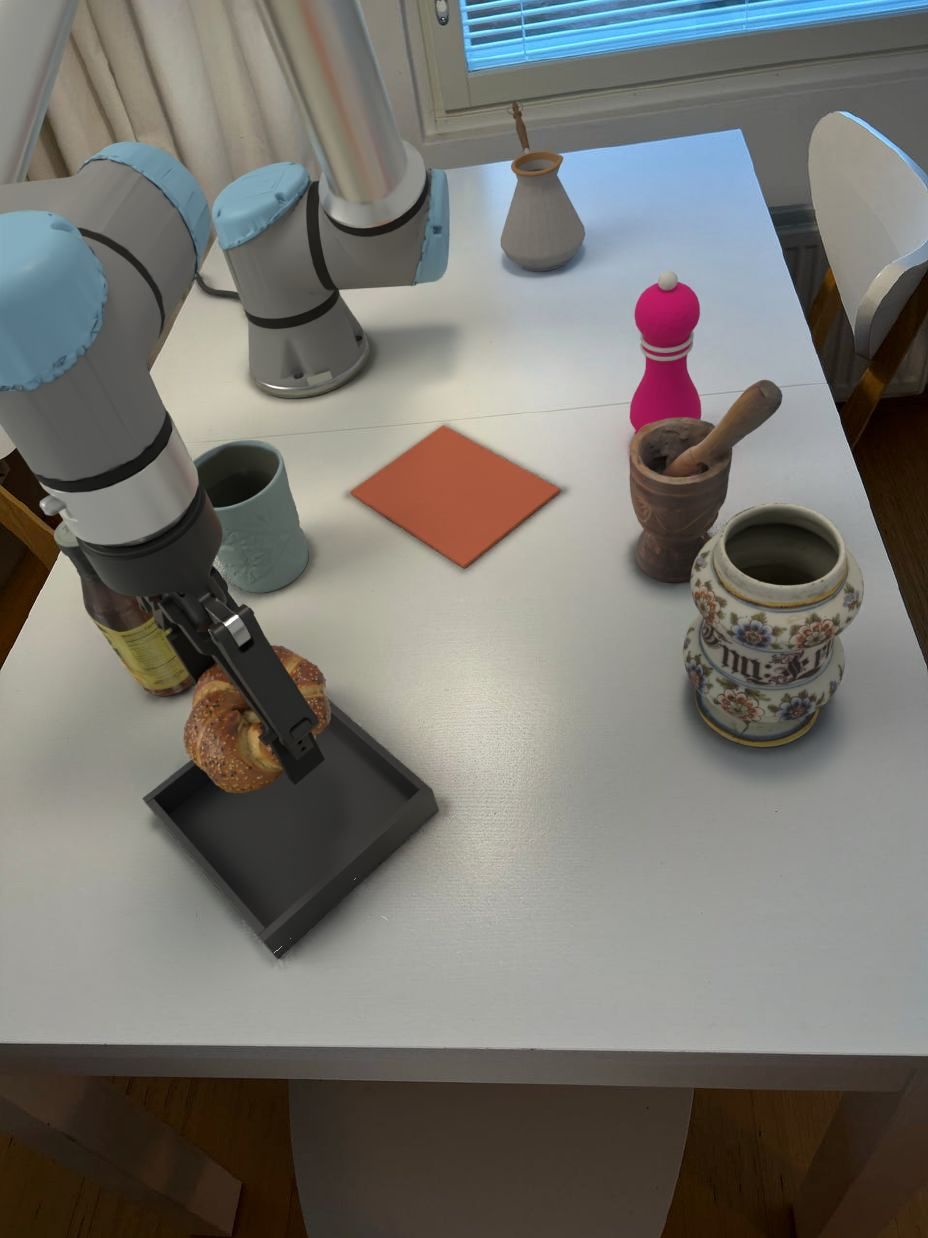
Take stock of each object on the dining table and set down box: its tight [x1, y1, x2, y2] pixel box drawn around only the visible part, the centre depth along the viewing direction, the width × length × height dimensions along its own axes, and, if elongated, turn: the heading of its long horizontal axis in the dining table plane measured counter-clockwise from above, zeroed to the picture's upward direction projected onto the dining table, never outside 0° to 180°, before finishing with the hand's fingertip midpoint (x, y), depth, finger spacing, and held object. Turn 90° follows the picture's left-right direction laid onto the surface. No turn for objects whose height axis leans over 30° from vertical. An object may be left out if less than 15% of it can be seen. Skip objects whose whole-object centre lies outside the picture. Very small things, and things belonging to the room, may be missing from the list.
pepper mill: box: [629, 269, 702, 435], centre depth 92 cm, size 7×7×20 cm
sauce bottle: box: [53, 519, 195, 697], centre depth 81 cm, size 6×6×20 cm
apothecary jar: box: [682, 502, 865, 748], centre depth 71 cm, size 12×12×18 cm
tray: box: [142, 698, 440, 960], centre depth 76 cm, size 17×16×3 cm
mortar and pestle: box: [628, 379, 783, 583], centre depth 82 cm, size 12×9×20 cm
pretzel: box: [183, 644, 331, 793], centre depth 68 cm, size 12×11×4 cm
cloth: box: [349, 425, 561, 569], centre depth 100 cm, size 18×14×1 cm
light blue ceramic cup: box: [192, 439, 310, 594], centre depth 93 cm, size 10×10×12 cm
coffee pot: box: [499, 100, 586, 272], centre depth 126 cm, size 21×12×15 cm, turn 8°
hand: (258, 723), depth 69 cm, fingers closed on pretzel, 11 cm apart
